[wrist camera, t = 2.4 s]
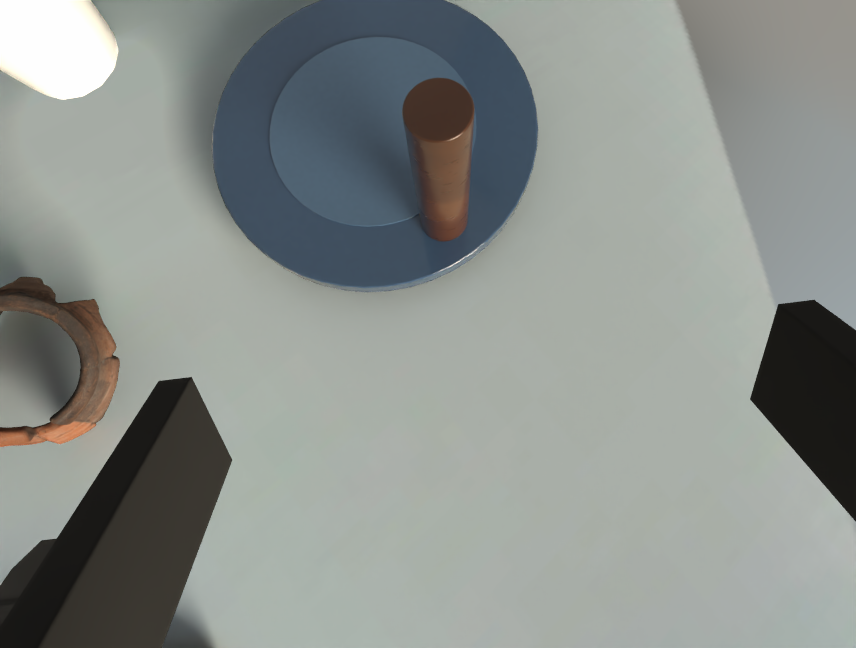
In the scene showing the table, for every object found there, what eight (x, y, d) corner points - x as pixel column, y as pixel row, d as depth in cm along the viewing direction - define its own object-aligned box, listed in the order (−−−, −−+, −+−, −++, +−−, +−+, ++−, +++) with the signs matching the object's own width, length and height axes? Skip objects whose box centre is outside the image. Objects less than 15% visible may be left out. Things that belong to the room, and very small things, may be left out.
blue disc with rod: (162, 113, 31) (7, -50, 20) (411, -50, 32) (389, -285, 22) (332, 359, 28) (253, 319, 17) (603, 164, 29) (691, 11, 18)
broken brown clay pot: (75, 252, 32) (36, 238, 24) (167, 374, 34) (158, 396, 27) (-144, 360, 28) (-272, 384, 20) (-22, 489, 30) (-95, 553, 23)
